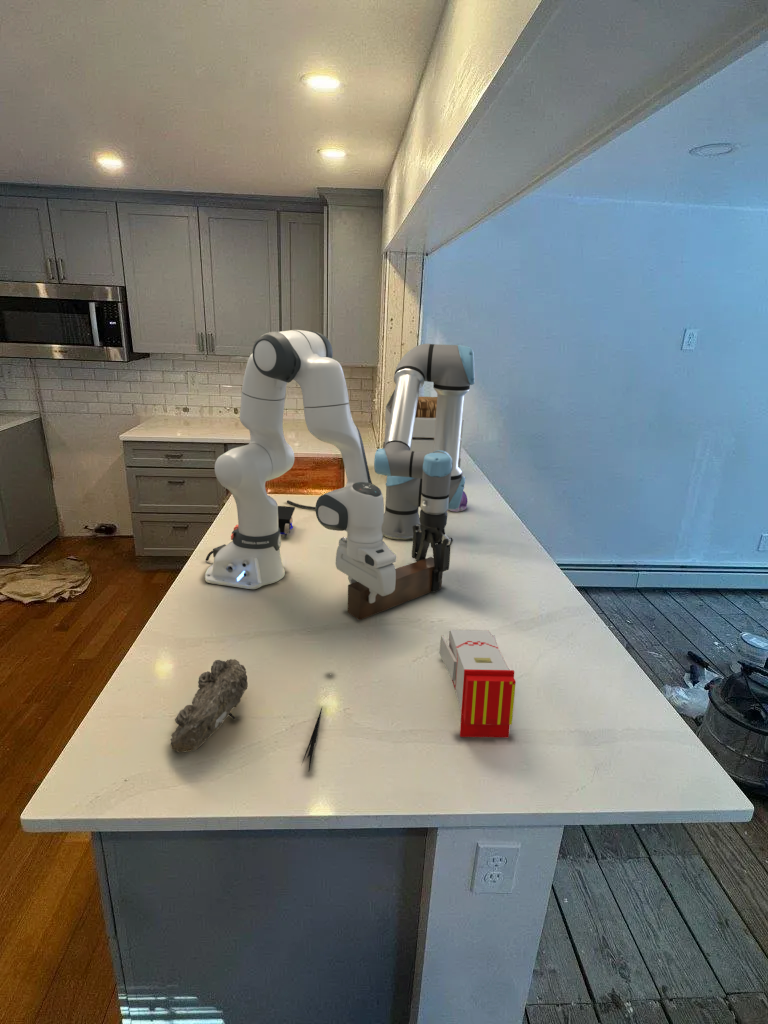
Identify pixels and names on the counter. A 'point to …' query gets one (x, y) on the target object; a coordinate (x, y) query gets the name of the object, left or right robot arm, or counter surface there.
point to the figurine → (462, 503)
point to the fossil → (210, 704)
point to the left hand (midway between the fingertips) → (363, 597)
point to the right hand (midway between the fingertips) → (428, 586)
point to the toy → (479, 682)
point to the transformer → (421, 425)
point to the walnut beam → (407, 587)
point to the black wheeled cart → (285, 519)
